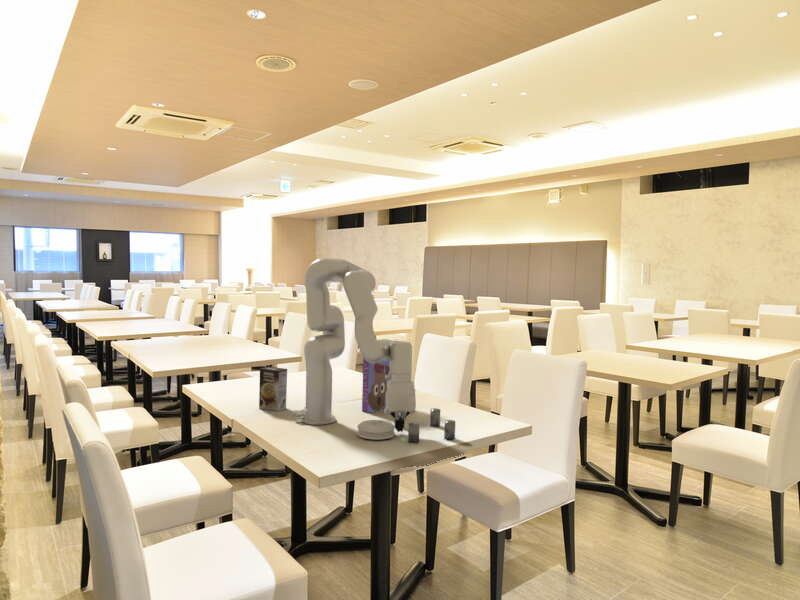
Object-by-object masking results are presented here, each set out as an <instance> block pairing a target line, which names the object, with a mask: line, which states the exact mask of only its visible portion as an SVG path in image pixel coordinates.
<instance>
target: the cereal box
mask: <svg viewBox="0 0 800 600" xmlns="http://www.w3.org/2000/svg"><path fill="white" fill-rule="evenodd" d="M362 357H363V356H362ZM362 364H363V365H362V394H361V395H362V396H361V397H362V399H361V400H362V401H361V404H362V405H361V412H362V411H364V412H363V413H367V412H370V413H369V414H374V413H377V412H380V411H381V409H382V410H385V394H386V387H387V383H388V381H390V380H389V379H386V378H385V375H388V374H389V372H390V360H386V361H382V362H378V363H369V362H368V361H366V360H365V359H364V357H363V358H362ZM376 411H377V412H376ZM373 412H374V413H373Z"/></svg>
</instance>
